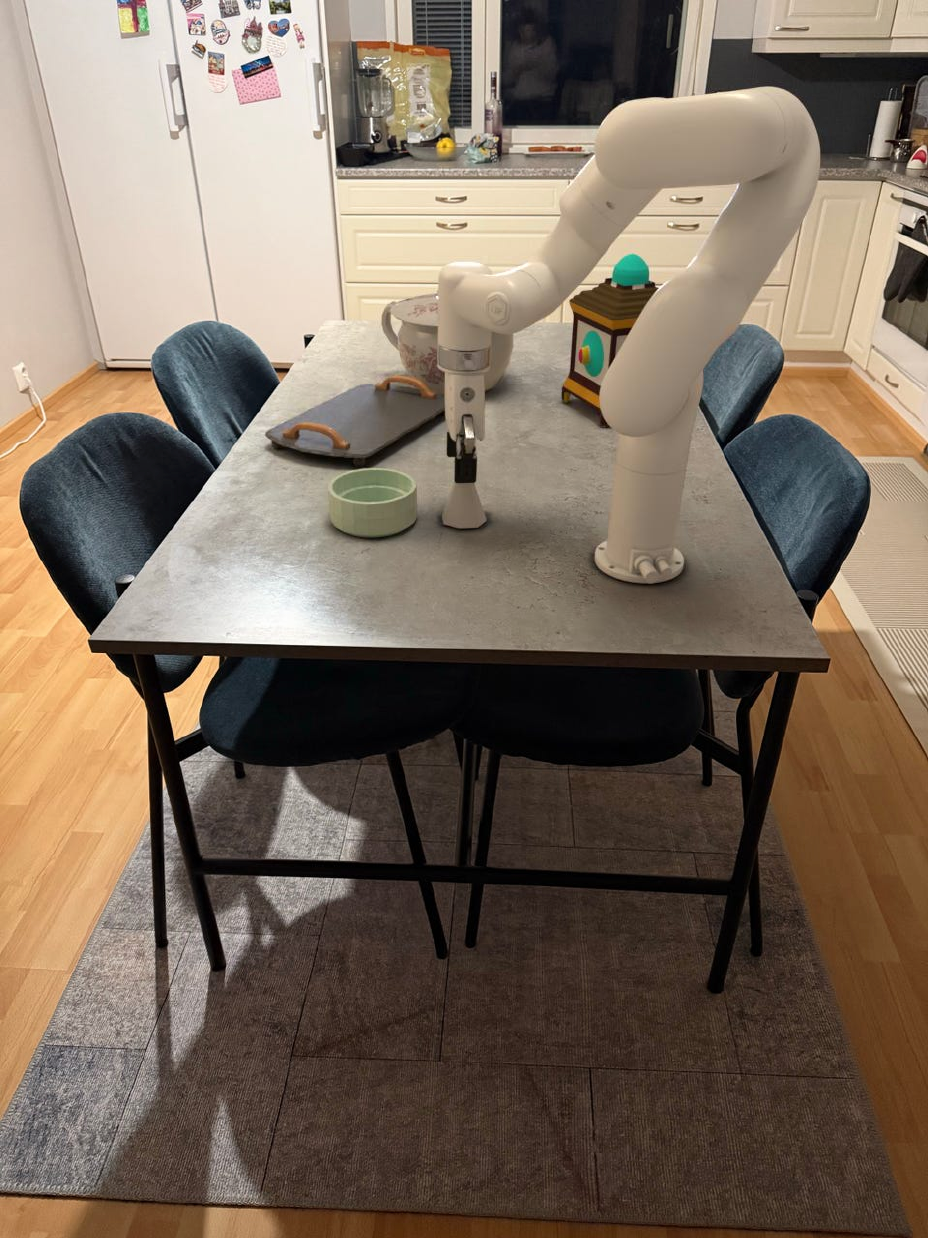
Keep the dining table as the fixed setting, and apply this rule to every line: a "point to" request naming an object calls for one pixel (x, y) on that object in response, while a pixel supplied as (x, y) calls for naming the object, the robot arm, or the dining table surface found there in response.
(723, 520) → the dining table surface
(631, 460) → the robot arm
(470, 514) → the flask
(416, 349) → the chamber pot
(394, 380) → the serving tray
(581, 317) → the decorative lantern
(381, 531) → the basin
